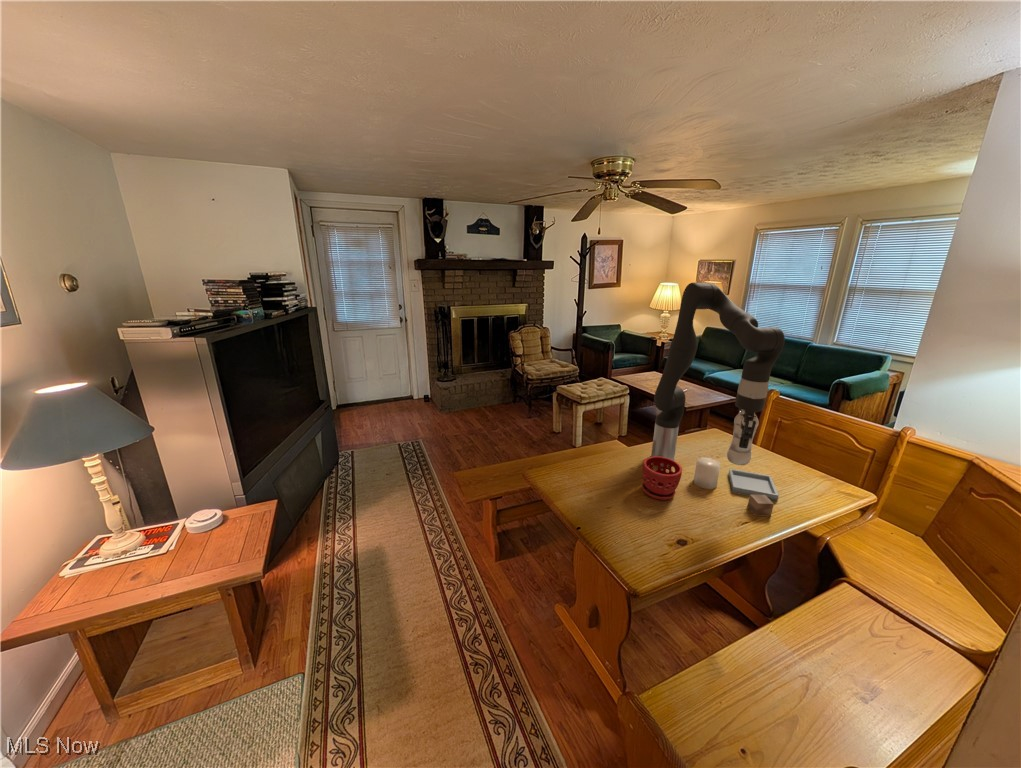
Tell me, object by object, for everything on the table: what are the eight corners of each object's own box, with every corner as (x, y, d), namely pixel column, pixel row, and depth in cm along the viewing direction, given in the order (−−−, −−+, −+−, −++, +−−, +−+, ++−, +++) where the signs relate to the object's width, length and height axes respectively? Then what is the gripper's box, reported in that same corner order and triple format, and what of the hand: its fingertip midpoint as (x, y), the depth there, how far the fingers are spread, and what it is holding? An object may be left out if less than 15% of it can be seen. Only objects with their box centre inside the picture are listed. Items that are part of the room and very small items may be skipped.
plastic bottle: (721, 458, 123) (732, 401, 117) (740, 457, 124) (752, 401, 117) (734, 468, 117) (746, 409, 111) (754, 467, 118) (767, 408, 111)
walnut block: (755, 515, 125) (758, 503, 124) (747, 506, 130) (750, 494, 129) (770, 516, 125) (773, 503, 124) (762, 507, 130) (765, 494, 128)
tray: (732, 492, 138) (733, 486, 137) (728, 473, 150) (729, 468, 150) (777, 501, 133) (778, 495, 132) (769, 481, 145) (770, 475, 144)
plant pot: (634, 494, 138) (637, 465, 134) (649, 479, 147) (652, 452, 143) (669, 508, 130) (674, 478, 126) (683, 492, 139) (687, 463, 135)
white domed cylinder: (693, 486, 142) (697, 465, 140) (693, 475, 149) (696, 455, 147) (717, 490, 139) (721, 469, 137) (715, 480, 146) (719, 459, 143)
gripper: (734, 384, 121) (725, 432, 126) (740, 399, 108) (730, 451, 113) (762, 387, 118) (751, 435, 123) (771, 402, 105) (759, 455, 110)
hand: (741, 442), depth 118 cm, fingers closed on plastic bottle, 6 cm apart
